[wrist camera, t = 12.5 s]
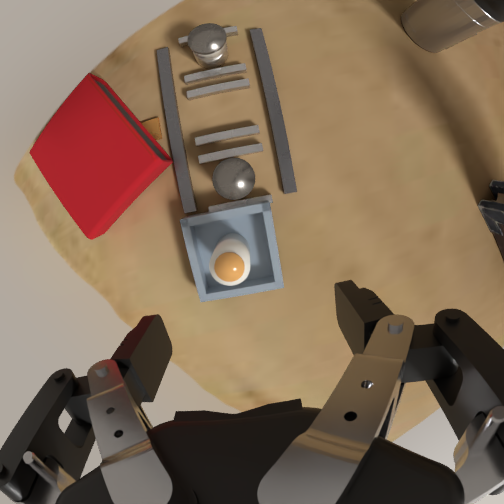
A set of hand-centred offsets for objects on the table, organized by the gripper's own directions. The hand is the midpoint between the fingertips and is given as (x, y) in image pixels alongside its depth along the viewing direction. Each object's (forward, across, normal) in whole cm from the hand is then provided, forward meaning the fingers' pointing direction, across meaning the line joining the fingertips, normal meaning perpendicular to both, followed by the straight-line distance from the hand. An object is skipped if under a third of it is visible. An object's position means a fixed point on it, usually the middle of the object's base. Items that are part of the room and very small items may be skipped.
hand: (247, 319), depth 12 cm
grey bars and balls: (+25, +3, -15) cm, 29 cm away
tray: (+25, +3, +3) cm, 25 cm away
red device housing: (+25, +18, -14) cm, 34 cm away
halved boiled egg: (+24, +3, +3) cm, 25 cm away
